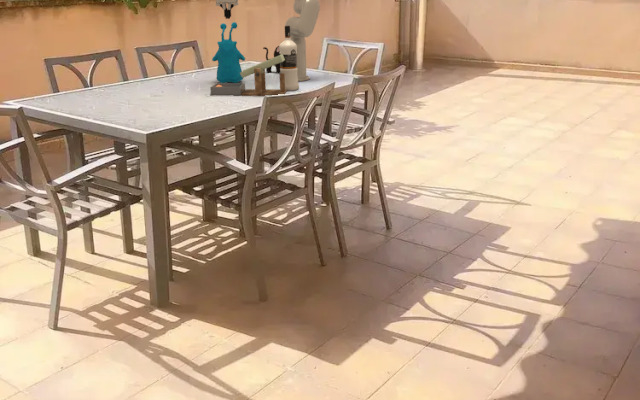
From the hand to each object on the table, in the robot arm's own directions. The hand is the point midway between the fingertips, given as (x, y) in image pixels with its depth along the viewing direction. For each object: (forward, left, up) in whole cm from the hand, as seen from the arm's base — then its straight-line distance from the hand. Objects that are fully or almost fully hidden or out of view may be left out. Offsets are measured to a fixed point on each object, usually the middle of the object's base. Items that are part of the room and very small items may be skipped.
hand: (227, 18), depth 330 cm
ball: (+17, -2, -31) cm, 35 cm away
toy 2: (-44, +15, -33) cm, 57 cm away
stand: (+17, +19, -33) cm, 42 cm away
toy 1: (-15, -4, -33) cm, 37 cm away
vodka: (+6, +30, -33) cm, 45 cm away
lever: (+12, +20, -23) cm, 33 cm away
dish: (+17, +2, -33) cm, 37 cm away
